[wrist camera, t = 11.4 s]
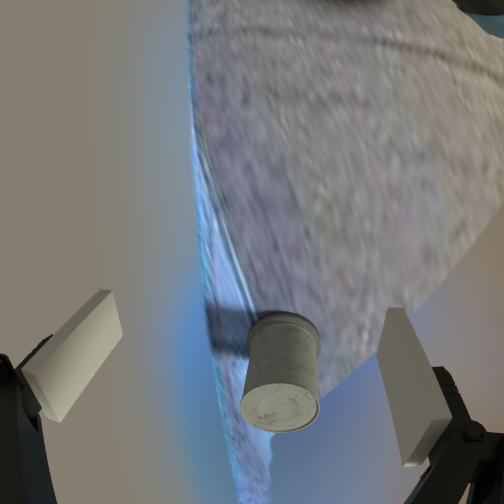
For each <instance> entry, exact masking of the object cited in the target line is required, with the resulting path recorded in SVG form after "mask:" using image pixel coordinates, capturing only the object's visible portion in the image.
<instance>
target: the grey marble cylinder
mask: <svg viewBox="0 0 504 504" xmlns="http://www.w3.org/2000/svg"><path fill="white" fill-rule="evenodd" d="M240 410H241V414H242V416H243V417H244V419H245V420H246V421H247V422H248V423H249V424H251V425H253V426H254V427H256V428H258V429H261V430H264V431H268V432H274V433H288V432H294V431H298V430H301V429H303V428H305V427H307V426H309V425H310V424H311V423H313V422H314V421H315V419H316V418H317V417H318V414H319V412H320V404H319V397H318V380H317V365H316V344H315V341H314V339H313V337H312V335H311V334H310V333H309V332H308V331H307V330H306V329H304V328H302V327H300V326H298V325H295V324H291V323H276V324H272V325H269V326H267V327H265V328H263V329H262V330H260V331H259V332H258V333H257V334H256V335H255V337H254V339H253V341H252V346H251V354H250V360H249V365H248V370H247V375H246V381H245V386H244V391H243V396H242V400H241V402H240Z"/></svg>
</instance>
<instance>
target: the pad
mask: <svg viewBox="0 0 504 504" xmlns="http://www.w3.org/2000/svg"><path fill="white" fill-rule="evenodd" d="M276 323H291V324H295V325H298V326H300V327H302V328H304V329H306V330H307V331H308V332H309V333H310V334H311V335H312V337H313V339H314V341H315V344H316V359H317V358H318V355H319V353H320V337H319V333H318V331H317V329H316V327H315V326H314V325H313V323H311V322H310V321H309V320H308V319H306V318H305V317H303V316H301V315H298V314H295V313H289V312H277V313H272V314H269V315H267V316H264V317H263V318H261V319H259V320H258V321H257V322H256V323H255V324H254V325H253V326H252V328H251V330H250V332H249V335H248V339H247V352H248V355H249V357H250V354H251V346H252V341H253V339H254V337H255V335H256V334H257V333H258V332H259V331H260V330H262V329H263V328H265V327H267V326H269V325H272V324H276Z"/></svg>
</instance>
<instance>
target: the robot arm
mask: <svg viewBox="0 0 504 504" xmlns="http://www.w3.org/2000/svg"><path fill="white" fill-rule="evenodd" d="M452 1H453V2H454V3H455V4H456V5H457V8H458V9H459V10H460V11H461V12H463V13H464V14H466V15H468V16H469V17H470V18H472V19H473V20H474V21H475V22H476V23H477V24H478V25H479V26H480V27H481V28H482V29H483V30H484V31H486V32H487V33H489V34H490V35H494V36H496V37H498V38H502V39H504V0H452ZM122 336H123V334H122V330H121V326H120V322H119V317H118V313H117V309H116V304H115V300H114V295H113V291H111V290H103V289H101V290H99V291H98V292H97V293H96V294H95V295H94V296H93V297H92V298H91V299H90V300H89V301H87V302H86V303H85V304H84V305H83V306H82V307H81V308H80V309H79V310H78V311H77V312H76V313H75V314H74V315H73V316H72V317H71V318H70V319H69V320H68V321H67V322H66V323H65V324H64V325H63V326H62V327H61V328H60V329H59V330H58V331H57V332H56V333H55V334H54V335H53V334H52V335H50V336H49V337H47V338H45V339H43V340H42V342H40V343H39V345H38V346H37V348H35V349H34V350H33V351H32V353H30V354H29V355H28V356H27V357H26V358H25V359H24V360H23V361H22V362H21V363H20V364H19V365H18V366H17V367H16V368H15V370H14V368H13V366H12V364H11V362H10V360H9V358H8V356H7V355H5V354H0V504H57V501H56V497H55V494H54V489H53V485H52V481H51V476H50V471H49V466H48V461H47V456H46V451H45V444H44V438H43V431H42V423H41V418H40V415H39V414H38V413H39V411H40V410H41V409H43V411H44V413H45V414H46V416H47V417H48V418H50V419H52V420H55V421H57V422H60V423H61V421H62V420H63V418H64V417H65V415H66V414H67V412H68V411H69V410H70V408H71V407H72V405H73V404H74V402H75V401H76V399H77V398H78V397H79V395H80V394H81V392H82V391H83V390H84V388H85V387H86V385H87V384H88V382H89V381H90V380H91V378H92V377H93V376H94V374H95V373H96V371H97V370H98V368H99V367H100V366H101V364H102V363H103V362H104V360H105V359H106V358H107V356H108V355H109V353H110V352H111V351H112V349H113V348H114V347H115V345H116V344H117V343H118V341H119V340H120V339H121V337H122ZM376 356H377V359H378V363H379V367H380V371H381V374H382V378H383V382H384V386H385V390H386V393H387V397H388V401H389V406H390V409H391V414H392V418H393V422H394V427H395V431H396V436H397V440H398V445H399V449H400V455H401V460H402V465H403V467H409V466H415V465H422V464H423V462H424V461H425V460H426V458H427V457H428V458H429V462H430V466H429V467H428V468H427V469H426V471H425V472H424V473H423V475H422V476H421V477H420V481H419V482H418V484H417V485H416V487H415V488H414V490H413V491H412V493H411V494H410V496H409V497H408V498H407V500H406V501H405V503H404V504H458V503H459V501H460V499H461V498H462V496H463V494H464V492H465V490H466V488H467V485H468V483H471V484H470V489H469V493H468V498H467V502H466V504H504V433H492V432H486V429H485V428H484V427H483V425H482V424H480V423H478V422H477V421H473V420H471V418H470V416H469V413H468V411H467V409H466V406H465V404H464V402H463V400H462V397H461V395H460V393H458V389H457V387H456V386H455V383H454V380H453V378H452V376H451V374H450V373H449V372H448V371H447V370H446V369H445V368H444V367H443V366H442V367H431V365H430V363H429V360H428V358H427V356H426V354H425V352H424V350H423V348H422V346H421V343H420V341H419V339H418V337H417V335H416V333H415V331H414V329H413V326H412V324H411V322H410V320H409V318H408V316H407V314H406V312H405V310H404V308H388V309H387V313H386V318H385V322H384V326H383V330H382V334H381V338H380V342H379V346H378V350H377V354H376Z"/></svg>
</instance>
